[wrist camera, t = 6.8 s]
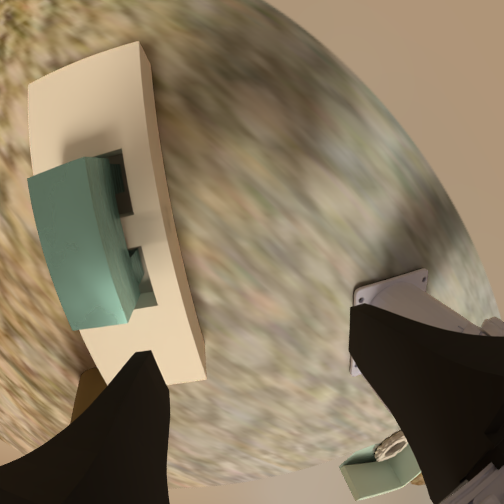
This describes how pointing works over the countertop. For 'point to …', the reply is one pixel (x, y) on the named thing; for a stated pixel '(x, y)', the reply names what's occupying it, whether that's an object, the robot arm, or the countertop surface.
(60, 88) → the rail
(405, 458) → the right angle wall
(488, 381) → the robot arm
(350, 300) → the countertop surface
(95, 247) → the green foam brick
